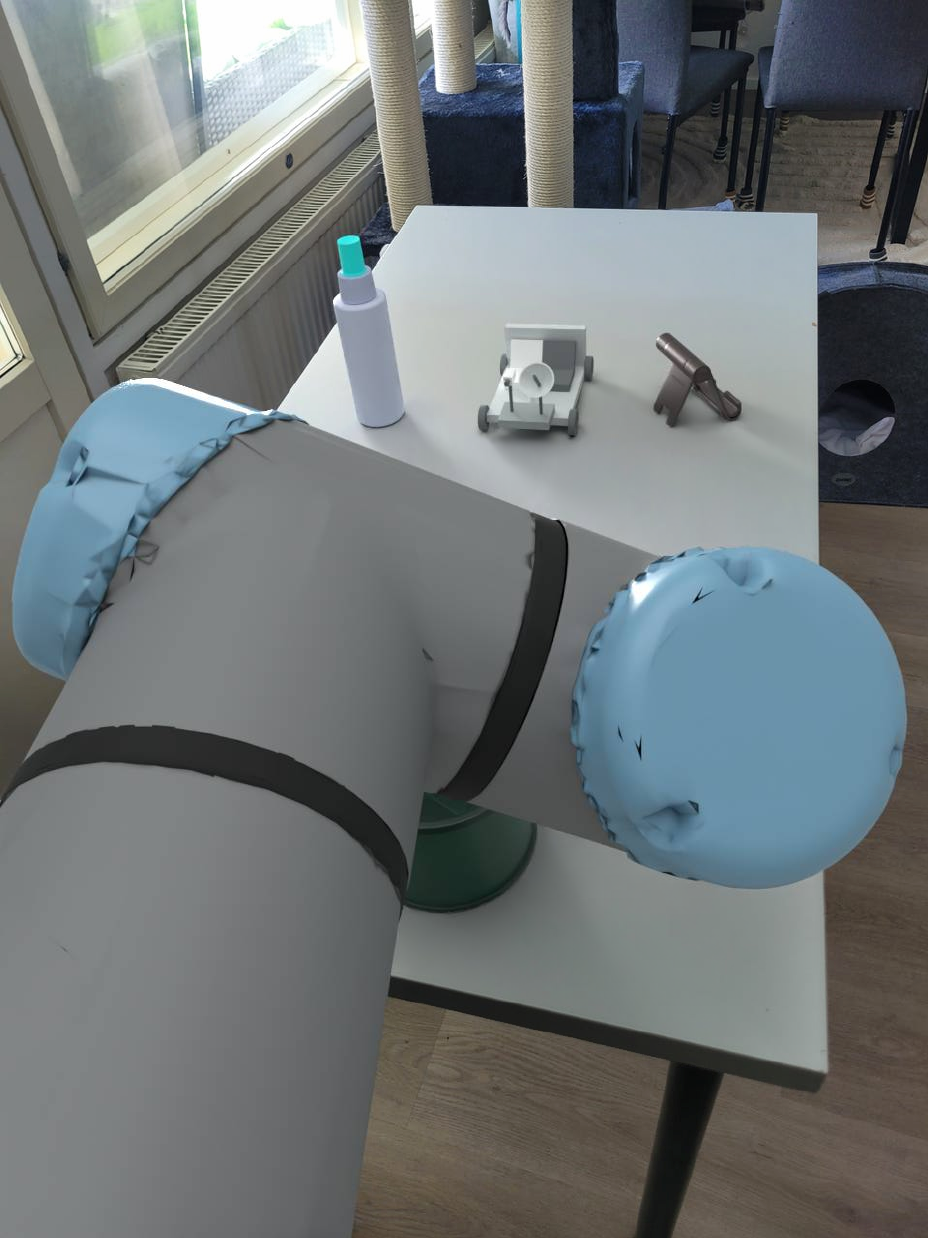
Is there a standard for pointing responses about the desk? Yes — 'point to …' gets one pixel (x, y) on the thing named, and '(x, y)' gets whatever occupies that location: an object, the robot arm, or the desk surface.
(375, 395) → the spray bottle
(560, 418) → the toy car
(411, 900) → the bucket
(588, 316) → the desk surface
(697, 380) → the tablet stand
